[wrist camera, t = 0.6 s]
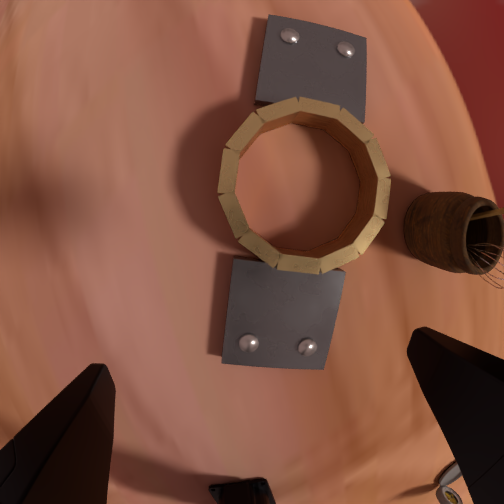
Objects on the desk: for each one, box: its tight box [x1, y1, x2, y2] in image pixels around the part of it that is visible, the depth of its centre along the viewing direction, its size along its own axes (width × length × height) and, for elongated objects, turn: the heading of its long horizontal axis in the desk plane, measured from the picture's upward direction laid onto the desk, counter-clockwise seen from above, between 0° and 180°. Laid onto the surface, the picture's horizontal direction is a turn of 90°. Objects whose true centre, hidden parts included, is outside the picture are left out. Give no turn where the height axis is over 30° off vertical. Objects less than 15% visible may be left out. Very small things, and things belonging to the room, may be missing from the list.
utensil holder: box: [404, 192, 504, 289], centre depth 16 cm, size 6×6×12 cm
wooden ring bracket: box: [217, 15, 391, 370], centre depth 19 cm, size 27×11×3 cm, turn 172°
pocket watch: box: [436, 462, 463, 504], centre depth 24 cm, size 8×8×10 cm
